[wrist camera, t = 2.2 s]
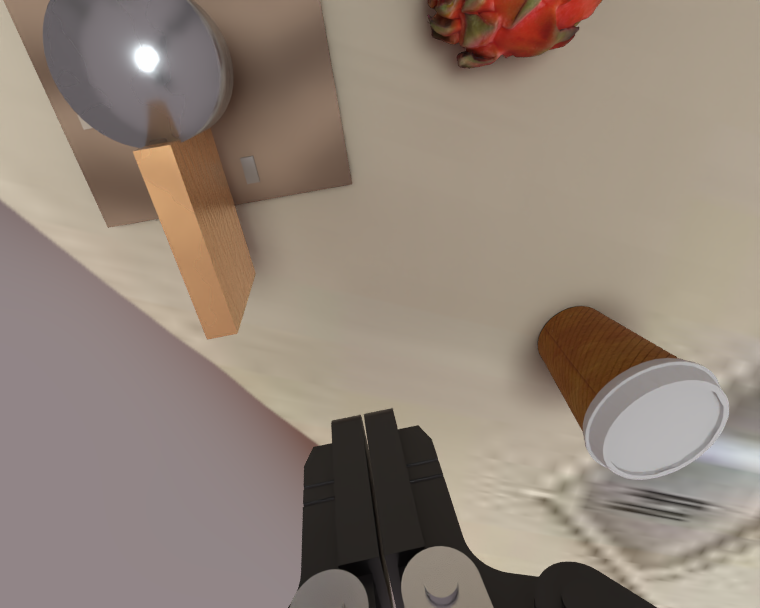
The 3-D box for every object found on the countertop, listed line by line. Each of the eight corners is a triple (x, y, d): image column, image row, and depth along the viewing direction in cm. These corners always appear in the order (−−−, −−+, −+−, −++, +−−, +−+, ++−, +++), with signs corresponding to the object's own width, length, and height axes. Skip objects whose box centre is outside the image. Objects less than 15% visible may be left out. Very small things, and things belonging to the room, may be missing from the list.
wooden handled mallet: (85, 2, 21) (-21, -32, 14) (218, -18, 21) (174, -61, 15) (194, 285, 28) (157, 348, 22) (293, 266, 28) (286, 324, 22)
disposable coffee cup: (638, 337, 40) (754, 430, 30) (551, 396, 42) (630, 503, 32) (594, 267, 36) (709, 345, 26) (500, 336, 38) (570, 435, 28)
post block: (-19, -85, 22) (-125, -136, 17) (296, -130, 23) (290, -192, 18) (117, 220, 30) (74, 252, 24) (350, 179, 30) (357, 201, 25)
